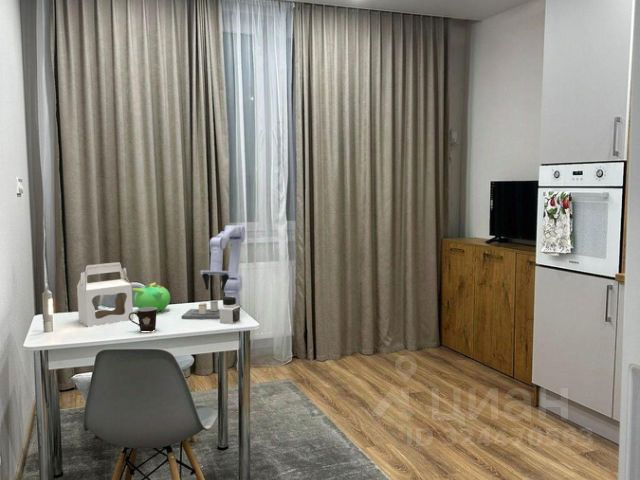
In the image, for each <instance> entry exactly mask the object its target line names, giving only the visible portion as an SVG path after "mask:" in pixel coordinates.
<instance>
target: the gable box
mask: <svg viewBox="0 0 640 480" xmlns="http://www.w3.org/2000/svg"><path fill="white" fill-rule="evenodd" d="M84 270H85V271H83V272H80V277H79V281H78V284H77V285H76V293H77V308H78V309H77V311H78V312H77V313H78V322H79V323H80V322H81V323H80V324H82V323H83V324H82V325H84V324H85V325H86V327H87V326H91V327H94V326H93V325H97V326H101V325H100V324H103V325H107V324H106V323H109V324H114V323H113V322H115V323H120V321H121V322H125V321H131V320H132V321H134V314H131V315H130V319H131V320H130V319H129V314H130V313H132V312H134V309H133V308H134V307H133V290H132V289H133V287H132V286H133V285H132V283H131V281H130V279H129V277H128V274H127V268H126V267H124V268H123V267H122V264H121V262H119V261H117V262H108V263H107V262H105V263H98V264H96V263H95V264H86V266H85V269H84ZM118 272H119V274H120V278H118V279H117V278H116V279H108V280H102V281H101V280H100V281H92V282H88V276H91V275H100V274H109V273H118ZM103 295H104V296H105V295H106V296H107V295H108V296H112V295H113V296H114V295H116V297H115V300H114V305H115V308H114V309H112V310H109V309H100V310H97V311H96V309H95V306H94V304H93V299H94V298H95V297H98V296H103ZM85 325H84V326H85Z"/></svg>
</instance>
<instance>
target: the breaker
mask: <svg viewBox="0 0 640 480" xmlns="http://www.w3.org/2000/svg"><path fill="white" fill-rule="evenodd" d="M209 303H210V309H211V311H217V310H218V309H219V300H211V301H210V302H209Z"/></svg>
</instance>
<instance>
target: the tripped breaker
mask: <svg viewBox="0 0 640 480" xmlns="http://www.w3.org/2000/svg"><path fill="white" fill-rule="evenodd" d="M198 309H199V314H206V313H207V303H199V304H198Z"/></svg>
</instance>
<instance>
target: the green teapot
mask: <svg viewBox="0 0 640 480" xmlns="http://www.w3.org/2000/svg"><path fill="white" fill-rule="evenodd" d="M132 292H135V293H134V295H133V302H134V305H135V307H136V308H137V309H139V308H143V307H156V308H157V312H160V311H163V310H164V309H166V308H168V306H169V304H170V302H171V295H170V292H169V290H168V289H167V288H165V287H164V286H162V285H158V284H156V282H152V283H150V284H148V285H145V286H144V285H143V286H141V287H140V288H136V287H135V288H134V287H132Z"/></svg>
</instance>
